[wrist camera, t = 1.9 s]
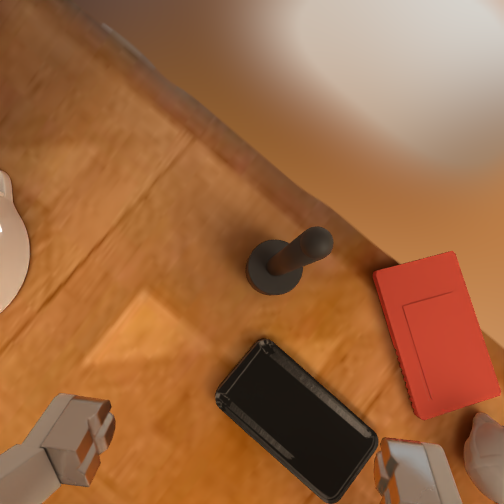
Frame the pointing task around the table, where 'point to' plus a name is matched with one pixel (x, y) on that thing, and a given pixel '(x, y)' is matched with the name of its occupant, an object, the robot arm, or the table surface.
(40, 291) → the table surface
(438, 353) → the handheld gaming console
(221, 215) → the table surface
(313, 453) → the phone
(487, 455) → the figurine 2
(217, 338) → the table surface
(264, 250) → the dark post on base
